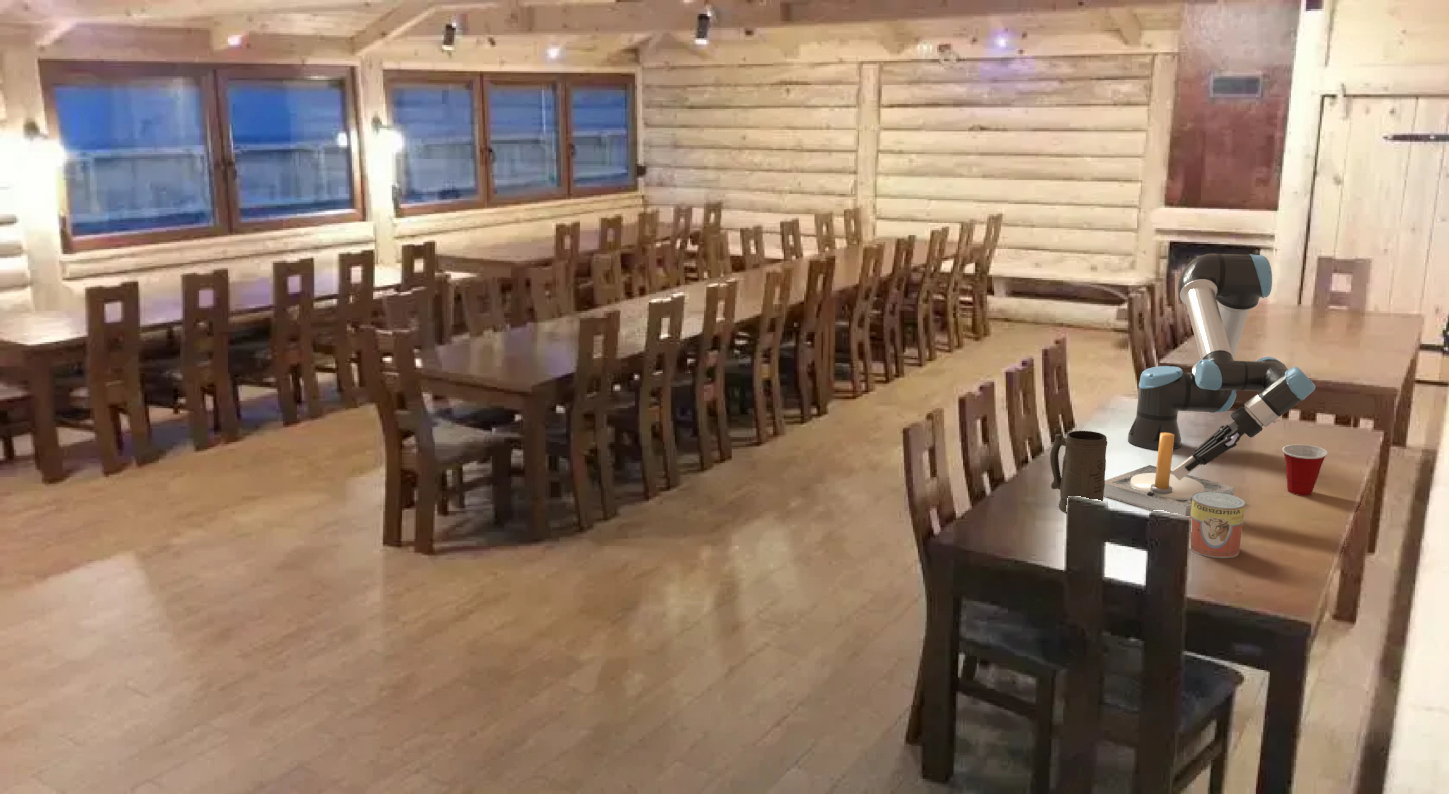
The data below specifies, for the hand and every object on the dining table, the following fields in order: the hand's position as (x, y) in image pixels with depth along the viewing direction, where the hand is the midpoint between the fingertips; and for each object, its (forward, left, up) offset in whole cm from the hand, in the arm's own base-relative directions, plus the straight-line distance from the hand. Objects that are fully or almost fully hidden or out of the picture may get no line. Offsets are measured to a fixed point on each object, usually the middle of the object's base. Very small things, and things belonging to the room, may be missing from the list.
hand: (1175, 475), depth 288 cm
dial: (-5, +5, -6) cm, 9 cm away
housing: (-5, +5, -8) cm, 11 cm away
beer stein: (-16, -21, -8) cm, 27 cm away
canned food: (+21, -20, -8) cm, 30 cm away
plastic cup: (+15, +37, -8) cm, 41 cm away
